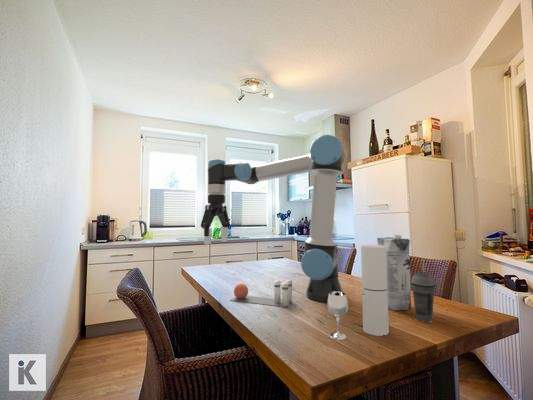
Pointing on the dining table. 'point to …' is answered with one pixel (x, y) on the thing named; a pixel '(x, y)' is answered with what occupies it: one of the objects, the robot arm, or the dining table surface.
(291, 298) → the pin back right
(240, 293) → the ball
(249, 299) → the grey flat board
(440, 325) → the dining table surface
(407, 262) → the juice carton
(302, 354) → the dining table surface
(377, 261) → the cylindrical container
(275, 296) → the pin front
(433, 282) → the beverage cup
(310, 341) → the dining table surface
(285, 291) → the pin back left
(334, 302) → the wineglass
